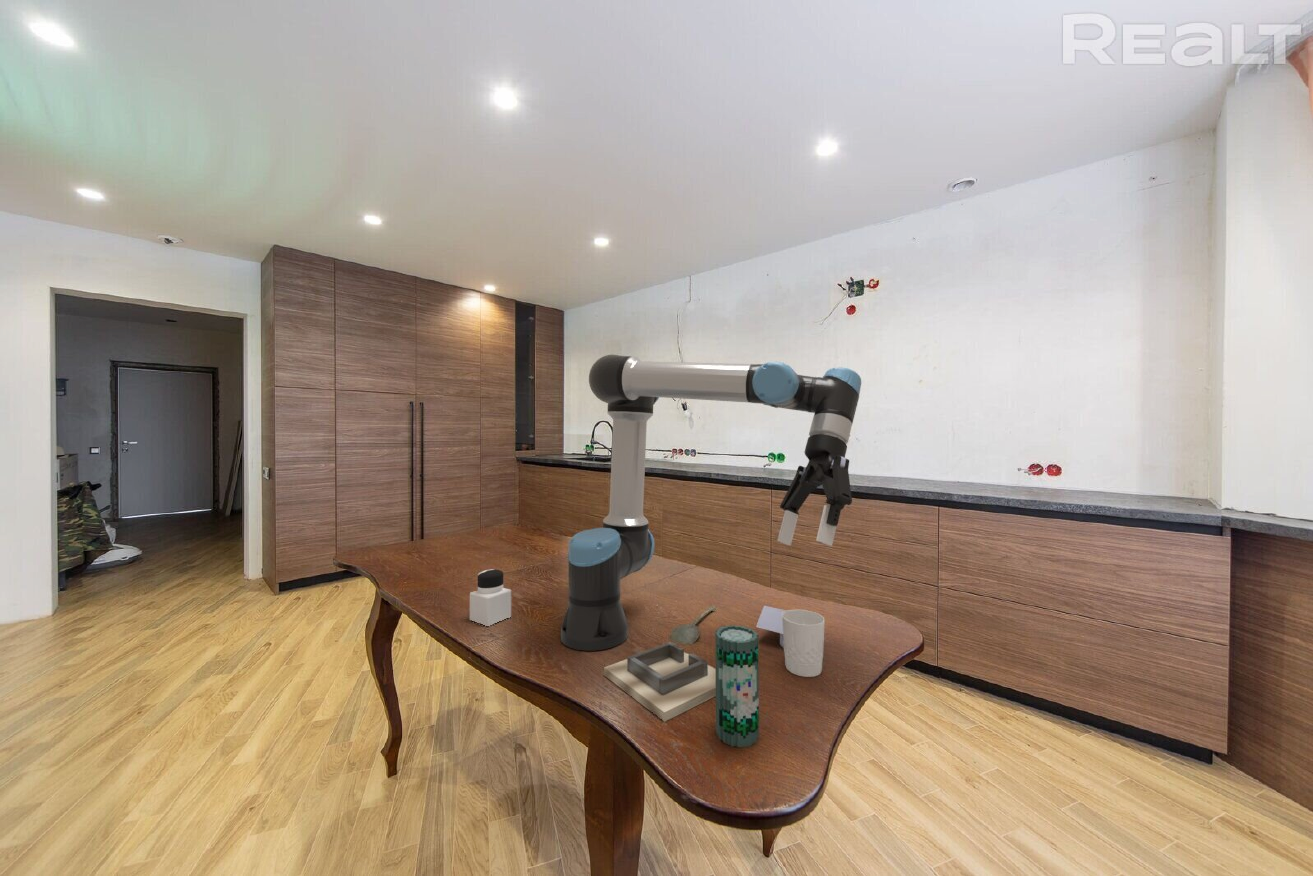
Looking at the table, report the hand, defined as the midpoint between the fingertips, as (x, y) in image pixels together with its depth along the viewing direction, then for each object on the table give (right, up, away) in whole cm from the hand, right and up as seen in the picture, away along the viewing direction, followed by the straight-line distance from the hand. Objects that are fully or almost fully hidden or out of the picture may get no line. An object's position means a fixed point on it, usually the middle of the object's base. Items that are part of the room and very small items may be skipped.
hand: (802, 543), depth 83 cm
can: (-15, -25, -16) cm, 33 cm away
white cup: (+1, -25, +4) cm, 26 cm away
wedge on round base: (+3, -25, +15) cm, 30 cm away
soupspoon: (-17, -26, +24) cm, 40 cm away
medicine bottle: (-68, -26, +28) cm, 78 cm away
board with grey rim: (-25, -25, -1) cm, 36 cm away
